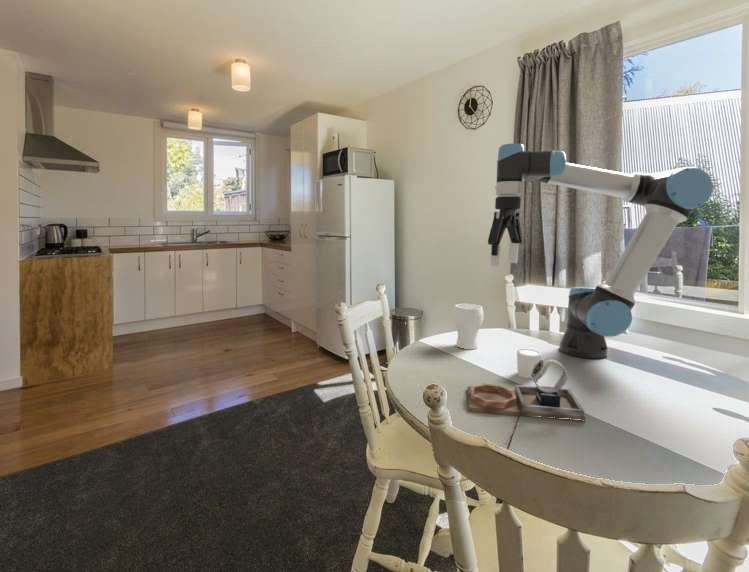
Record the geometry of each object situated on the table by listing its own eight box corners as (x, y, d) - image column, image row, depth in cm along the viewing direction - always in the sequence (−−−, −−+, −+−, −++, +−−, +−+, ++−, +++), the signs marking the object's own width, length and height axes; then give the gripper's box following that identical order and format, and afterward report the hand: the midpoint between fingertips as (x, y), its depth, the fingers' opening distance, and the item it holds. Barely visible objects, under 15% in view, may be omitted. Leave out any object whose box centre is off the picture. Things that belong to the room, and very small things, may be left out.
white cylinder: (537, 380, 119) (538, 357, 118) (512, 376, 122) (514, 353, 121) (541, 373, 125) (543, 351, 124) (518, 369, 128) (519, 347, 127)
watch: (527, 397, 106) (530, 355, 104) (560, 399, 104) (564, 357, 103) (532, 406, 100) (535, 363, 98) (567, 409, 99) (571, 365, 97)
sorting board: (569, 398, 108) (570, 388, 107) (584, 421, 95) (585, 411, 95) (467, 389, 112) (467, 381, 112) (469, 411, 100) (469, 401, 99)
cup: (485, 351, 146) (487, 309, 143) (454, 350, 146) (456, 309, 143) (478, 342, 156) (480, 303, 154) (450, 342, 156) (451, 303, 154)
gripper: (512, 198, 140) (509, 260, 143) (478, 194, 121) (475, 266, 125) (534, 197, 135) (530, 262, 138) (502, 194, 116) (498, 268, 120)
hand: (504, 264), depth 131 cm, fingers open, 13 cm apart
